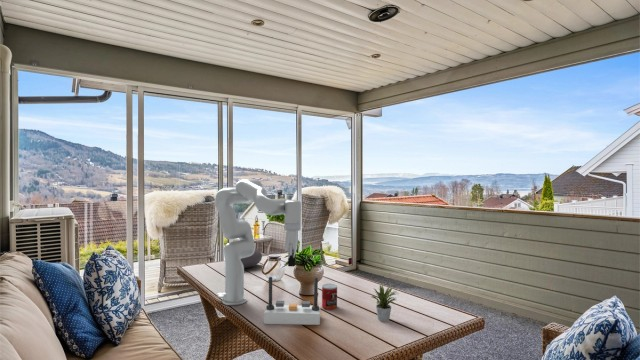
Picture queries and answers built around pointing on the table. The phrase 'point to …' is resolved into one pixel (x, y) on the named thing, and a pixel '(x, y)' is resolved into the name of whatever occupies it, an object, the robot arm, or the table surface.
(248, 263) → the flattened ellipsoid
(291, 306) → the middle button
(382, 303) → the house plant
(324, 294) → the canned food
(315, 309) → the right cord
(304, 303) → the right button
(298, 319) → the strip
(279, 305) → the left button
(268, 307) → the left cord
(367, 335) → the table surface
